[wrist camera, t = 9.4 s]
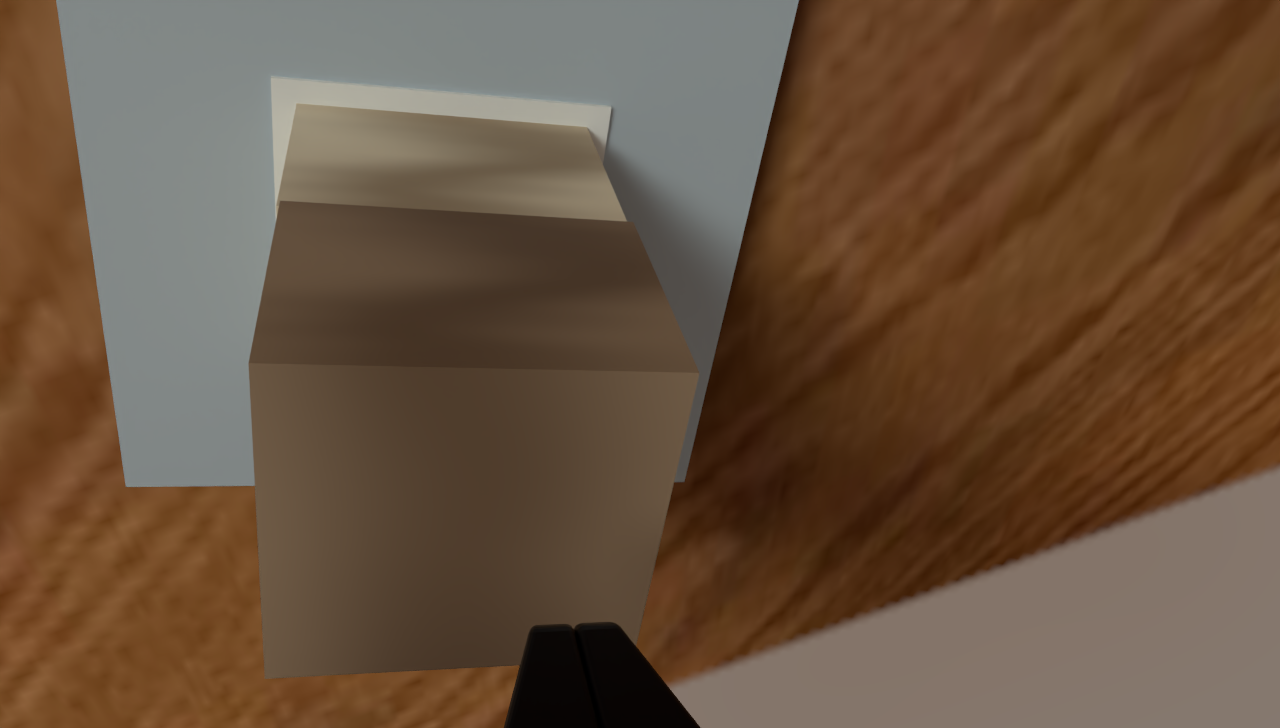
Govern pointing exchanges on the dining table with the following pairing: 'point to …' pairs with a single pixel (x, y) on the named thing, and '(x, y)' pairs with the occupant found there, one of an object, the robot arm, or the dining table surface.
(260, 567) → the walnut block
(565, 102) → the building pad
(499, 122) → the maple block
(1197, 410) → the dining table surface
